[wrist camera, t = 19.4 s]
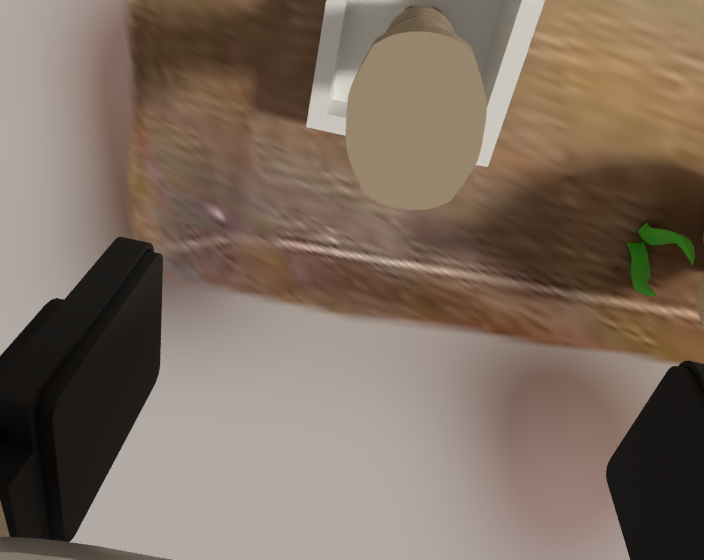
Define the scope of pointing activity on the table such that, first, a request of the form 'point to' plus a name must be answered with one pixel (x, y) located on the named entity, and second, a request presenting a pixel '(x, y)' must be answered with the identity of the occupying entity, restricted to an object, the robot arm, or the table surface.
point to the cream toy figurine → (642, 263)
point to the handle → (416, 113)
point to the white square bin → (468, 23)
